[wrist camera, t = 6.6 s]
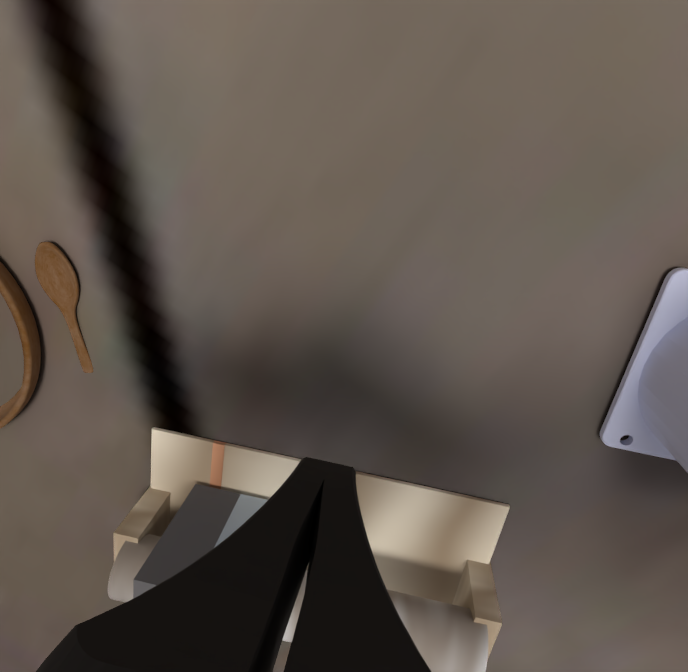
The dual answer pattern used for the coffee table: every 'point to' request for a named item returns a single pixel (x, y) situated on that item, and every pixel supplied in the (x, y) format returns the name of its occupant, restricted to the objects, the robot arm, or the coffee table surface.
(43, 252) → the place setting
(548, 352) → the coffee table surface
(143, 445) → the coffee table surface
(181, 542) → the grey notched block
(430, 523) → the pipe rig
